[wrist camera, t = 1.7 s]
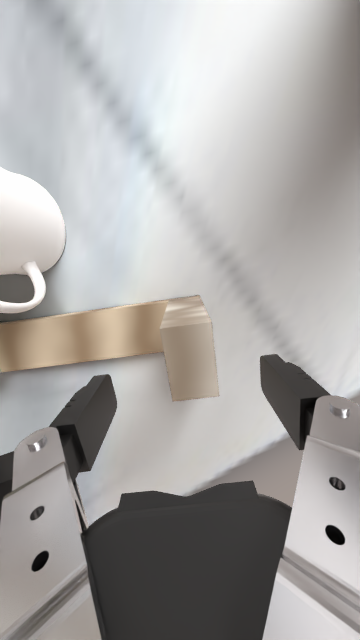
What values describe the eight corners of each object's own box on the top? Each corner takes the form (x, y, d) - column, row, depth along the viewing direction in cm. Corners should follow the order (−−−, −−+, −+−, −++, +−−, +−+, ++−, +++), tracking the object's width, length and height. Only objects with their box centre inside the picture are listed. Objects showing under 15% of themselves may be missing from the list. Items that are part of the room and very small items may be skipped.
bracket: (178, 122, 16) (174, -28, 8) (204, 341, 22) (219, 396, 13) (-88, 171, 18) (-346, 88, 9) (-2, 368, 23) (-113, 434, 14)
